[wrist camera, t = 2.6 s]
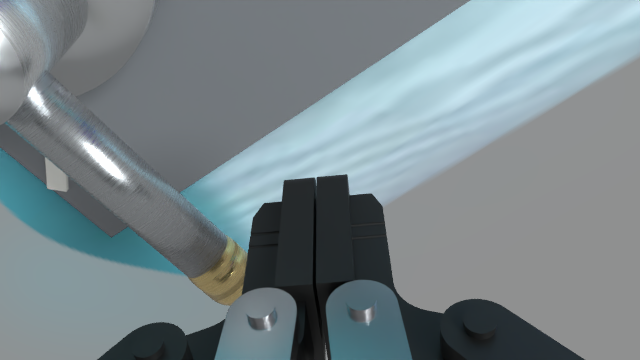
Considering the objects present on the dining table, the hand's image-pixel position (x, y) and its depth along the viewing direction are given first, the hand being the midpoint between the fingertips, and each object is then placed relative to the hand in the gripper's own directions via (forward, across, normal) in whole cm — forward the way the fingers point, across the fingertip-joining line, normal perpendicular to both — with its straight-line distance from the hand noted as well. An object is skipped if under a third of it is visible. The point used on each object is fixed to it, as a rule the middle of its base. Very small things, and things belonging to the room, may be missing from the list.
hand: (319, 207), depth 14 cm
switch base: (+9, +6, -5) cm, 12 cm away
